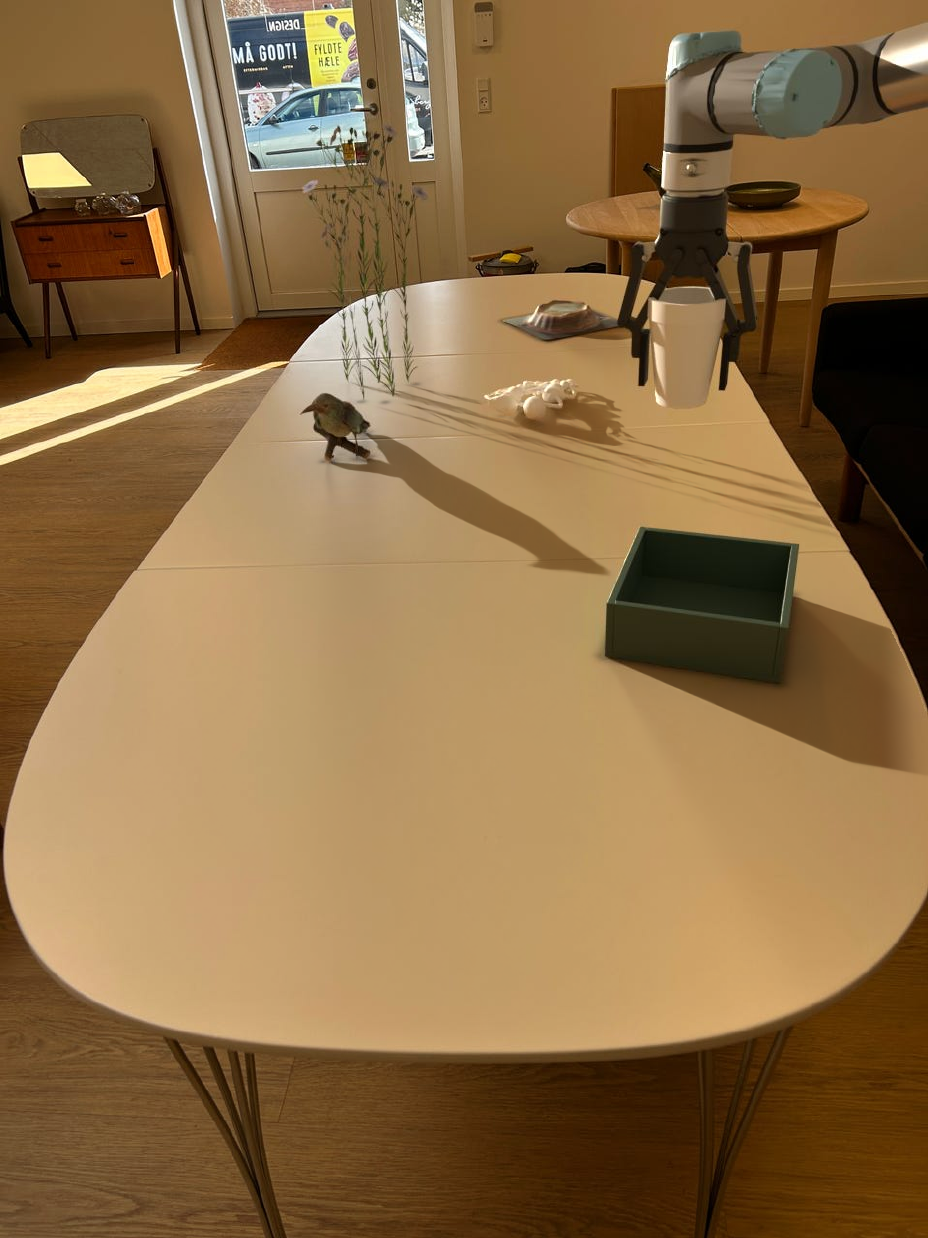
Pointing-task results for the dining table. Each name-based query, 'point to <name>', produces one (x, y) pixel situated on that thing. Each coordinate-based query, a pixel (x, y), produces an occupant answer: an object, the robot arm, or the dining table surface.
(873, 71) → the robot arm
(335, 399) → the bird figurine
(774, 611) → the dish tub
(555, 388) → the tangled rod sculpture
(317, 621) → the dining table surface
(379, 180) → the wildflower
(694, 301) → the foam cup
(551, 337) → the quiche
